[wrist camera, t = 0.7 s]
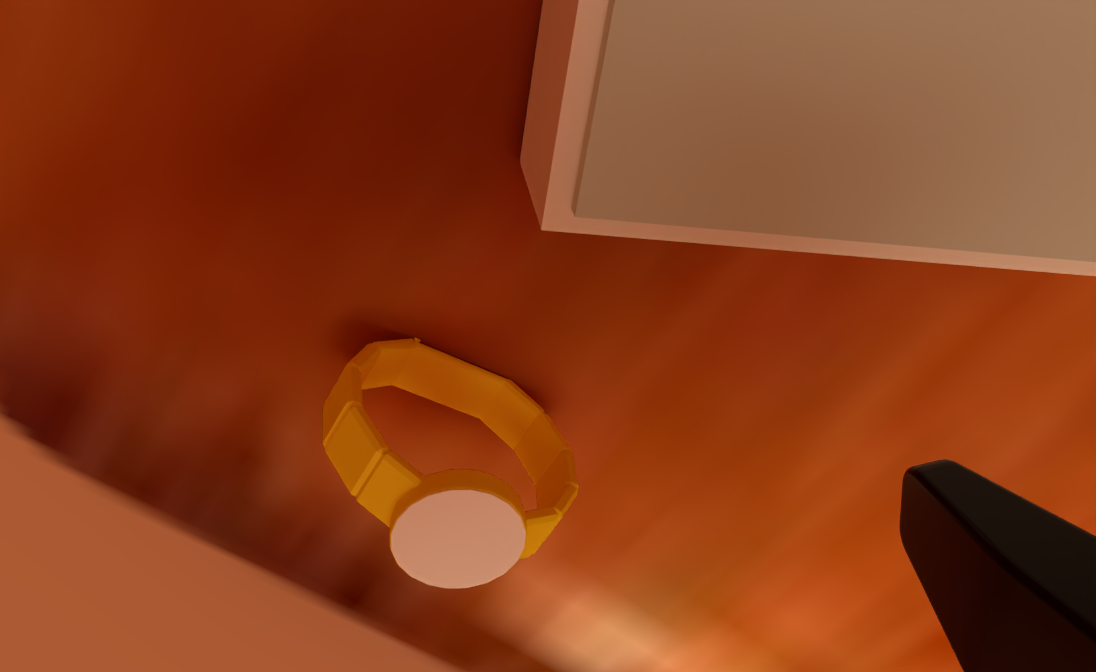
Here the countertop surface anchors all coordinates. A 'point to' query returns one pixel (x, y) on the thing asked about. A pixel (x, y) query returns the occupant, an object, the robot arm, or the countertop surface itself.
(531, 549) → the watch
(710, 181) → the stand
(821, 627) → the countertop surface
